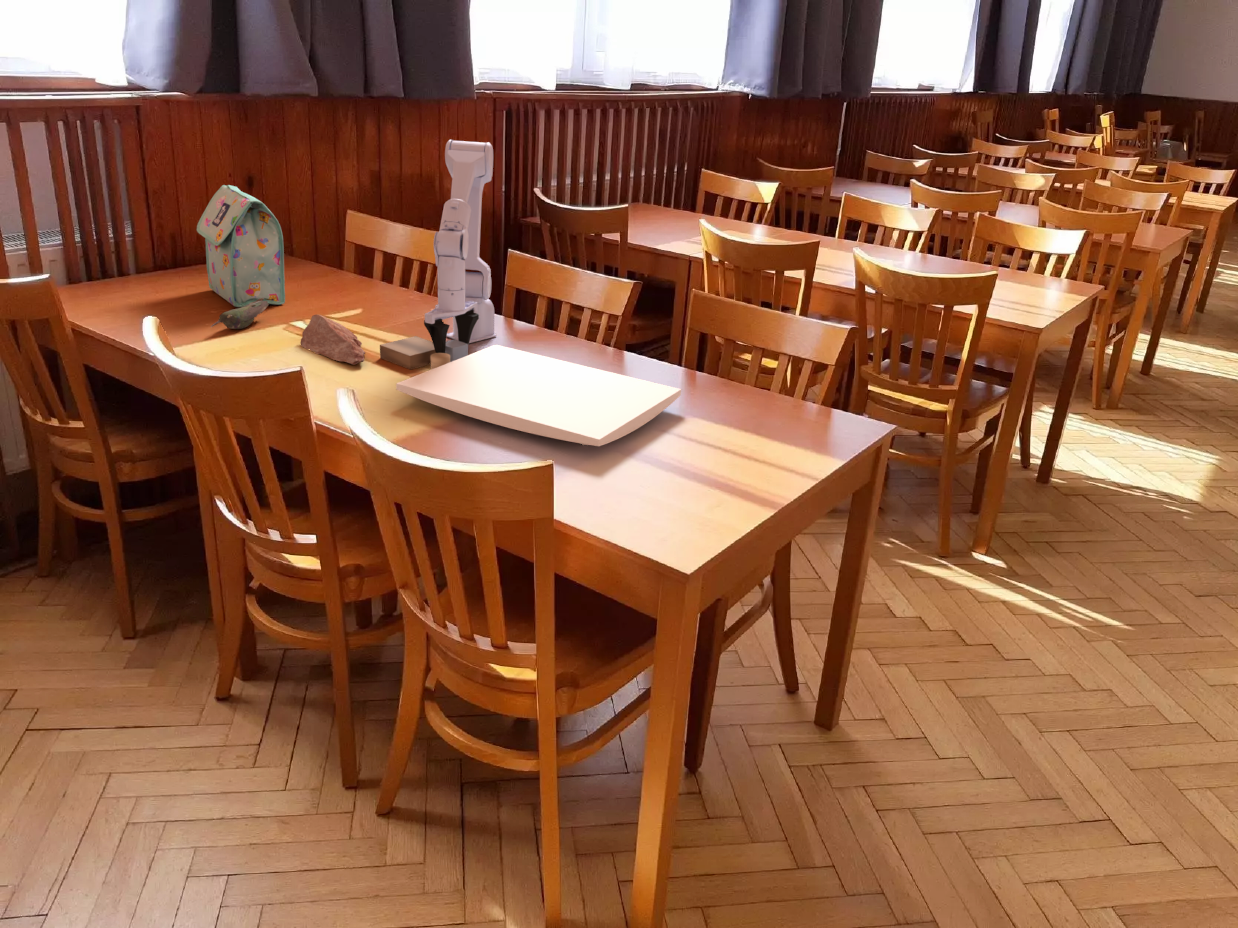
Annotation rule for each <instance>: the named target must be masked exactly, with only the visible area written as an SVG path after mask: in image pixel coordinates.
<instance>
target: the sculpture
mask: <svg viewBox="0 0 1238 928" xmlns="http://www.w3.org/2000/svg"><path fill="white" fill-rule="evenodd" d="M263 300H264V298H259V299H258V300H256V301H254V302H252V303H250V304H248V305H246V306H244V307H237V308H235V309H230V310H228V311H224V312H222V313H221V314H219V318H218V320H217V321H216V322H214V323H213V324H212V325H211V326H210V328H213V327H215V326H217V325H218V324H220V323H222V324H223V325H224V326H225V327H226V328H227V329H231V330H243V329H245V328H247V327H248V326H250V325H252V324H253V322H254V320H255V318H257V316H258V315H260V314H262V313H263V312H264V311H265V310H266V309H267V308H268V306H269V305H270V304H269V303H268V302H267V301H263Z"/></svg>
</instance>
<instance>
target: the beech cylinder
mask: <svg viewBox="0 0 1238 928" xmlns="http://www.w3.org/2000/svg"><path fill="white" fill-rule="evenodd" d="M447 363H450V355H449V354H446V353H434V354H431V364H430V370H432V369H434V368H437V367H439V366H442V365H444V364H447Z"/></svg>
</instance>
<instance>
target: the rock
mask: <svg viewBox="0 0 1238 928" xmlns="http://www.w3.org/2000/svg"><path fill="white" fill-rule="evenodd" d="M361 346H362V341H360V340H359V339H358V336H357V335H356V334H354V333H353V332H352V331H351V330H350V329H348V328H347V327H345V325H344V324H343V325H342V324H341V323H339V322H337V321H334V320H332V319H331V318H328V317H326V316H324V315H321V314H313V315H312V316H311V319H310V321H309V323H308V325H307V326H305V328H304V330H303V331H302V337H301V339H300V347H302V348H303V349H306V350H308V349H310V350H311V352H313V351H314V352H315V354H317V355H319V354H321V355H322V356H323V357H326V358H329V359H330V360H334V361H335V360H336V361H335V362H339V363H340V362H345V363H348V364H351V365H353V366H355V365H358V364H359V363H361V362H362V363H364V361H365V356H364V355H366V352H365V351H364V349H363V348H362V347H361ZM310 350H309V351H310ZM314 352H313V353H314Z"/></svg>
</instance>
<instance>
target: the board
mask: <svg viewBox="0 0 1238 928" xmlns="http://www.w3.org/2000/svg"><path fill="white" fill-rule="evenodd" d="M395 386H396V387H395V390H396V391H399V392H401V393H403V394H405V395H408V396H411V397H413V398H415V399H418V400H421V401H424V402H426V403H429V404H432V405H435V406H437V407H439V408H443V409H445V410H449V411H452V412H454V413H457V414H461V415H464V416H466V417H470V418H473V419H477V420H480V421H483V422H487V423H490V424H493V425H497V426H501V427H505V428H508V429H512V430H517V431H521V432H524V433H529V434H532V435H535V436H541V437H546V438H551V439H555V440H561V441H564V442H565V441H566V442H572V443H577V444H580V445H581V444H582V445H581V446H584V445H587V446H595V447H602V446H604V445H607V444H609V443H612V442H615V441H617V440H618V439H621V438H623V437H625V436H627V435H629V434H630V433H632V432H634V431H636V430H638V429H640V428H641V427H643V426H644V425H645V424H647V423H648V422H650V421H651V420H653V419H654V418H656V417H657V416H658V415H659V414H661V413H662V412H664V411H665V409H667V408H668V407H670V406H671V405H672V404H673V403H674V402H675V401H677V400H678V398H679V397H680V396H681V395H682V389H681V388H678V387H674V386H669V385H665V384H662V383H656V382H653V381H649V380H645V379H640V378H637V377H632V376H628V375H624V374H620V373H615V372H612V371H607V370H604V369H598V368H595V367H590V366H586V365H583V364H578V363H575V362H571V361H565V360H561V359H557V358H554V357H551V356H550V357H549V356H546V355H545V356H544V355H543V354H542V355H541V354H538V353H537V354H536V353H533V352H529V351H526V350H525V351H524V350H520V349H516V348H512V347H507V346H504V345H500V344H493V345H491V346H488V347H486V348H483V349H479V350H478V351H476V352H472V353H470V354H468V355H467V356H465V357H462V358H460V359H457V360H455V361H452V362H450V363H447V364H444V365H442V366H439V367H437V368H434V369H432V370H431V369H430V370H427V371H424V372H422V373H420V374H416V375H415V376H414V375H413V376H412V377H410V378H406V379H404V380H402V381H399V382H396V383H395Z"/></svg>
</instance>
